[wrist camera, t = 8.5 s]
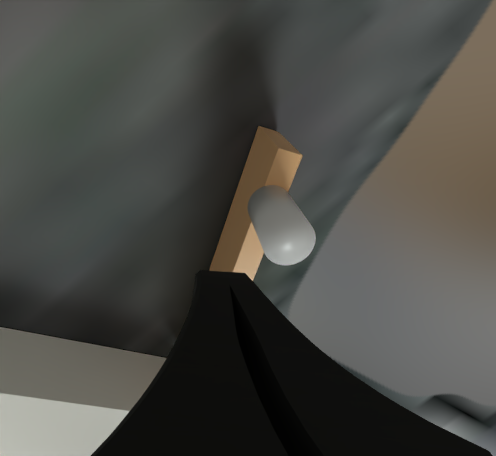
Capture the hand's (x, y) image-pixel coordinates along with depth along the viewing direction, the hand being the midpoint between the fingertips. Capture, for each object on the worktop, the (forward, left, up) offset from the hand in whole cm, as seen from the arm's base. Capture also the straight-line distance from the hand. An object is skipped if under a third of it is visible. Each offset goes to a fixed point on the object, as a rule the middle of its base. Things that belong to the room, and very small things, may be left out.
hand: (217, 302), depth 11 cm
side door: (-3, +3, -9) cm, 10 cm away
